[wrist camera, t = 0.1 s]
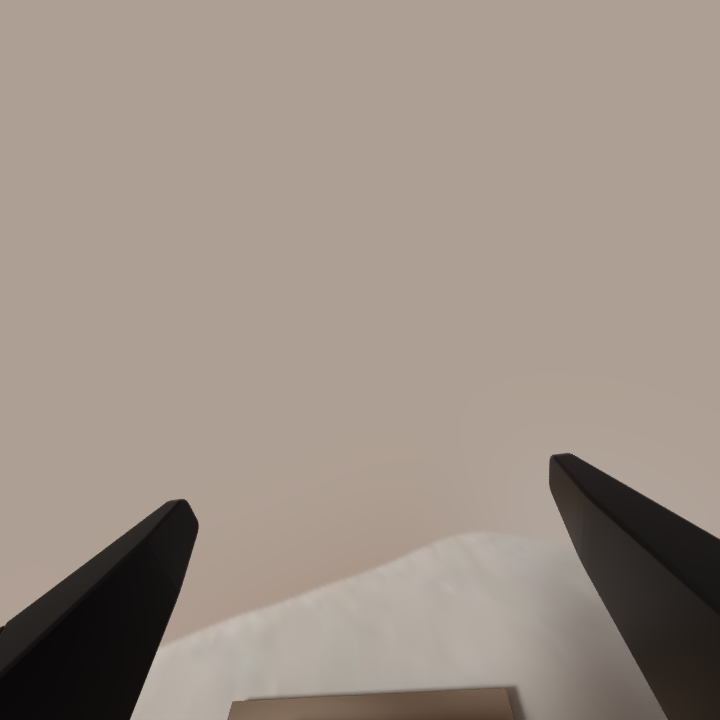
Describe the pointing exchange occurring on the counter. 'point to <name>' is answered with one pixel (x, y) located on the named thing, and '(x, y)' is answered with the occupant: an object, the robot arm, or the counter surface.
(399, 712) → the socket board
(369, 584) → the counter surface
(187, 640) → the counter surface
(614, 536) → the robot arm
